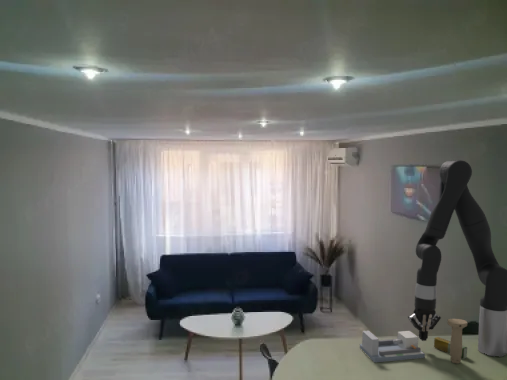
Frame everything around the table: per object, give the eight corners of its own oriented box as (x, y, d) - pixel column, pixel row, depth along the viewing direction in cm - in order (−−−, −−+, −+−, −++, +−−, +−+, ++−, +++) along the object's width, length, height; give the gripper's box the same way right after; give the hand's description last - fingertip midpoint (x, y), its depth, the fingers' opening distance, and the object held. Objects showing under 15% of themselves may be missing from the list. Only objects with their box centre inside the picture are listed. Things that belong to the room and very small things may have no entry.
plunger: (409, 343, 169) (409, 330, 169) (421, 352, 161) (421, 339, 161) (390, 345, 167) (390, 332, 167) (401, 354, 159) (401, 341, 159)
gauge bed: (407, 344, 172) (407, 325, 172) (424, 357, 161) (425, 337, 160) (359, 347, 168) (360, 328, 168) (374, 362, 157) (374, 341, 156)
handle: (467, 365, 155) (469, 323, 154) (449, 365, 155) (451, 323, 154) (461, 359, 160) (463, 318, 159) (443, 358, 160) (445, 318, 159)
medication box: (467, 357, 161) (468, 347, 161) (463, 359, 160) (464, 348, 160) (437, 346, 171) (437, 336, 171) (433, 347, 170) (433, 337, 169)
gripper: (435, 291, 171) (432, 335, 172) (404, 293, 168) (401, 336, 169) (447, 298, 163) (444, 343, 165) (415, 299, 161) (412, 345, 162)
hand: (423, 339), depth 167 cm, fingers closed
